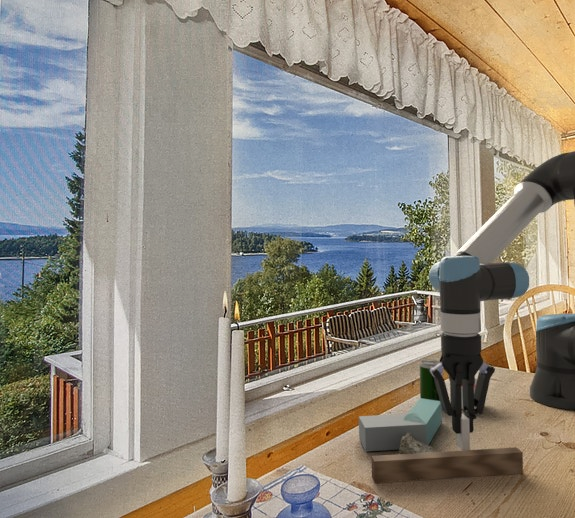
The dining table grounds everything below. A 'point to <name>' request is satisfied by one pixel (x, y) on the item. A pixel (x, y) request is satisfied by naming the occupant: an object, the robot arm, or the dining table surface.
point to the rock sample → (413, 446)
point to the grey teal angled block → (400, 426)
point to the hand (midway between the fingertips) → (463, 447)
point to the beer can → (428, 380)
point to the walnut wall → (447, 464)
